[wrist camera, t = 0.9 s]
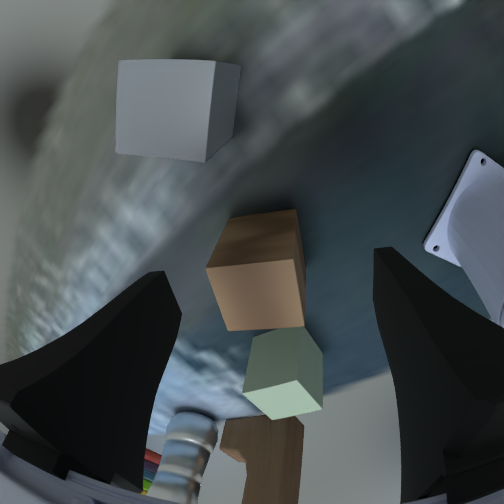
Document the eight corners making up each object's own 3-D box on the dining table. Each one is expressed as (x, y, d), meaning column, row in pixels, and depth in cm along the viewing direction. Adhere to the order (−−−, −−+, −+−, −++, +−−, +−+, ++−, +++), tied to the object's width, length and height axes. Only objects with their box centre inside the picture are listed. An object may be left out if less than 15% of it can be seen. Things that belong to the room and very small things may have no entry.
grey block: (241, 65, 16) (215, 60, 11) (232, 137, 18) (204, 163, 13) (169, 61, 16) (119, 60, 11) (163, 129, 19) (115, 153, 14)
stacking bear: (119, 437, 48) (89, 514, 33) (170, 454, 47) (144, 536, 32) (129, 455, 54) (104, 521, 39) (173, 469, 53) (152, 539, 38)
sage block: (299, 320, 25) (296, 380, 20) (322, 352, 27) (322, 409, 22) (253, 336, 27) (242, 393, 22) (278, 366, 29) (272, 420, 24)
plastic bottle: (231, 427, 37) (199, 565, 20) (192, 430, 39) (157, 553, 22) (201, 402, 34) (156, 555, 17) (162, 407, 37) (115, 539, 20)
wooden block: (243, 433, 38) (218, 554, 22) (224, 418, 36) (193, 548, 21) (305, 425, 34) (292, 561, 19) (290, 409, 32) (272, 559, 17)
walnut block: (296, 208, 20) (293, 258, 15) (305, 266, 22) (304, 326, 17) (229, 217, 21) (205, 268, 16) (244, 272, 23) (227, 330, 18)
